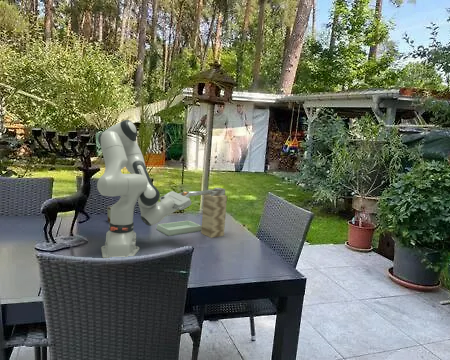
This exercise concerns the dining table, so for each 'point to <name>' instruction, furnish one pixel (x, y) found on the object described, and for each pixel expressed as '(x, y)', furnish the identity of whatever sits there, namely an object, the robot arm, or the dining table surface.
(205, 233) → the pin post
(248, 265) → the dining table surface
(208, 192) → the stop pin
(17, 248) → the dining table surface
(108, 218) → the food container
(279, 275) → the dining table surface
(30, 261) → the dining table surface
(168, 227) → the pin tray
